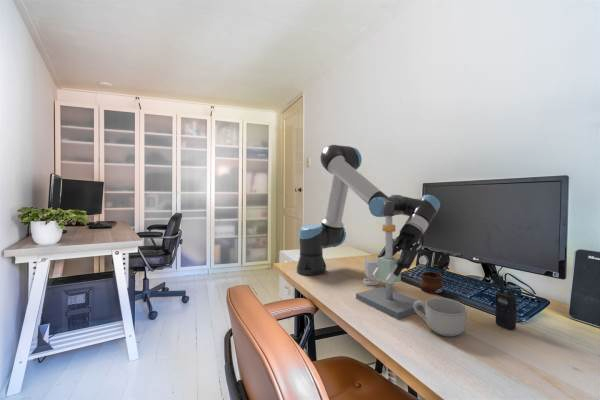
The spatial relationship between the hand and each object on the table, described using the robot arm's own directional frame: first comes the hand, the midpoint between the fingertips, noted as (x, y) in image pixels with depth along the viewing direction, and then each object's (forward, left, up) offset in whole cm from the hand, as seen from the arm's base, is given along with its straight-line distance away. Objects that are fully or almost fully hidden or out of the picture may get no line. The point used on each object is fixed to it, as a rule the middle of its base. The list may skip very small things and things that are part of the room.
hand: (381, 279), depth 100 cm
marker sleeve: (0, +4, -1) cm, 4 cm away
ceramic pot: (-1, +29, -10) cm, 30 cm away
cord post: (0, +4, -10) cm, 10 cm away
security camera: (-20, +15, -10) cm, 27 cm away
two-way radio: (+30, +21, -10) cm, 38 cm away
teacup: (+21, +2, -10) cm, 23 cm away
